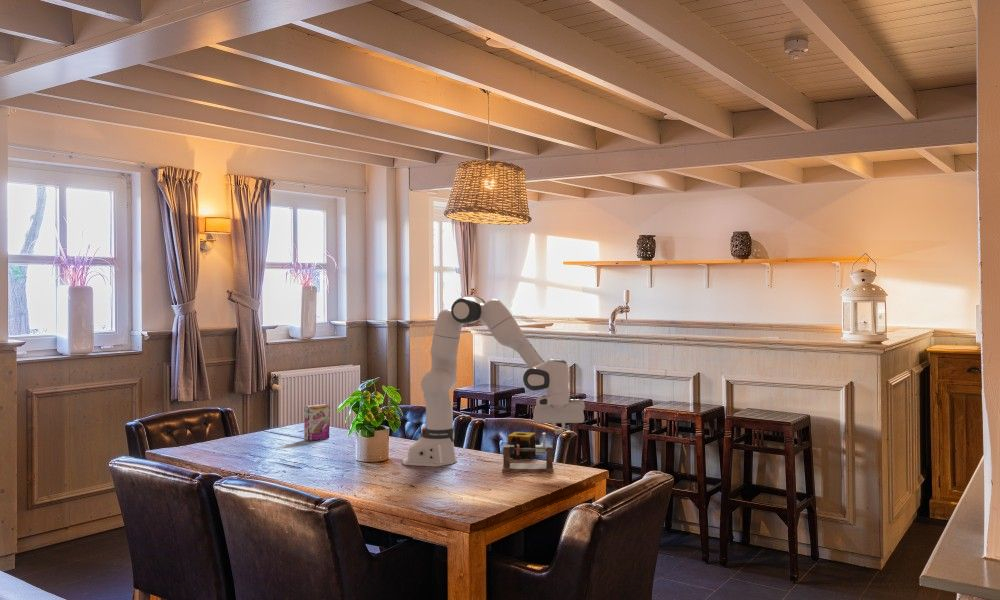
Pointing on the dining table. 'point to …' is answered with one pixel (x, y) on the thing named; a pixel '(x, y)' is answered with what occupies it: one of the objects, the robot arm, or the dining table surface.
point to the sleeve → (541, 446)
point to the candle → (522, 444)
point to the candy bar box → (316, 422)
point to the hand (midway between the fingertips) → (558, 434)
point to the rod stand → (527, 466)
